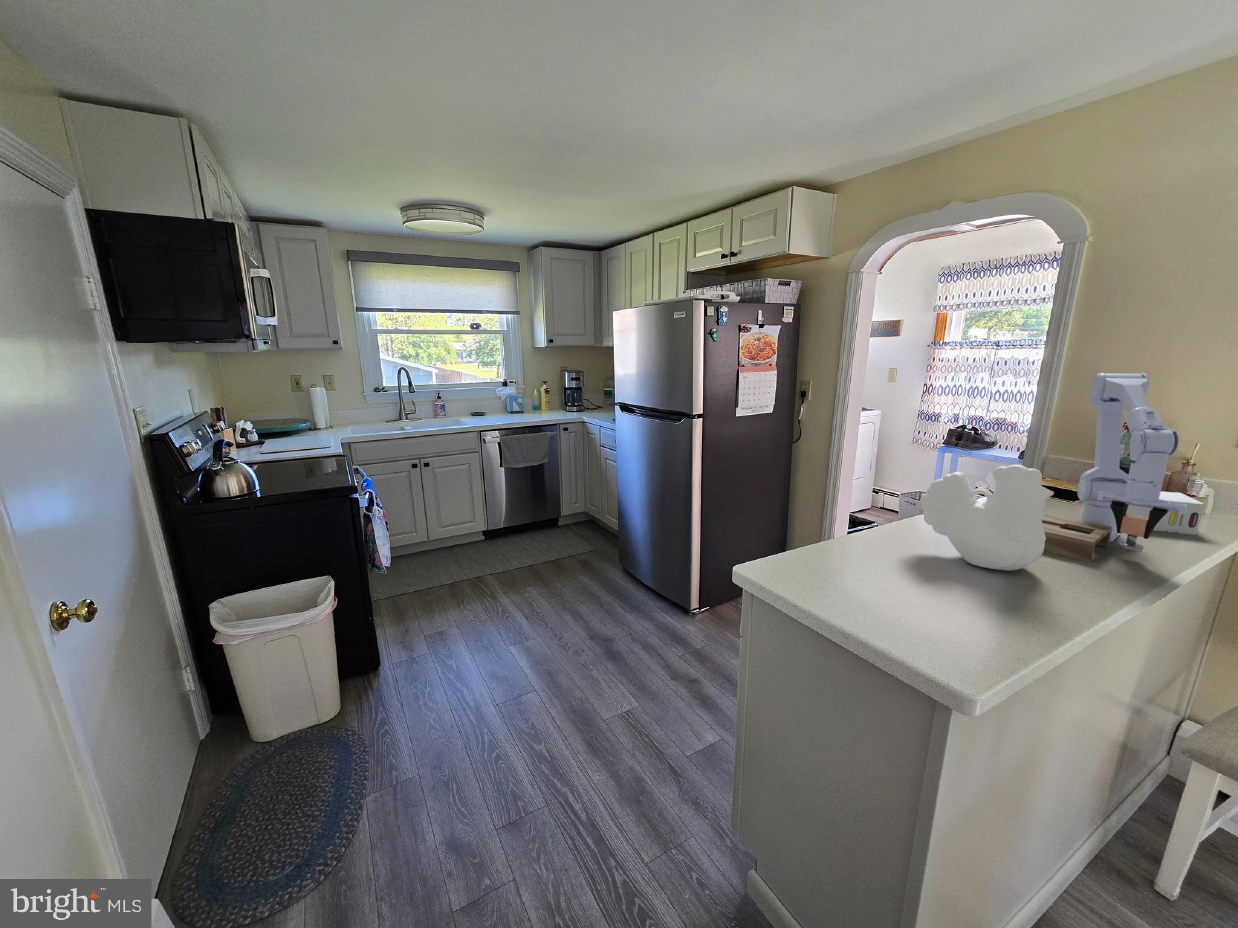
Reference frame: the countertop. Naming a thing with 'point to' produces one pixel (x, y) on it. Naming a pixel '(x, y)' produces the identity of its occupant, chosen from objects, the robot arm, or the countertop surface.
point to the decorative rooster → (991, 517)
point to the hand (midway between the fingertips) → (1132, 535)
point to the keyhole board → (1074, 536)
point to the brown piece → (1133, 532)
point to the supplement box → (1174, 514)
